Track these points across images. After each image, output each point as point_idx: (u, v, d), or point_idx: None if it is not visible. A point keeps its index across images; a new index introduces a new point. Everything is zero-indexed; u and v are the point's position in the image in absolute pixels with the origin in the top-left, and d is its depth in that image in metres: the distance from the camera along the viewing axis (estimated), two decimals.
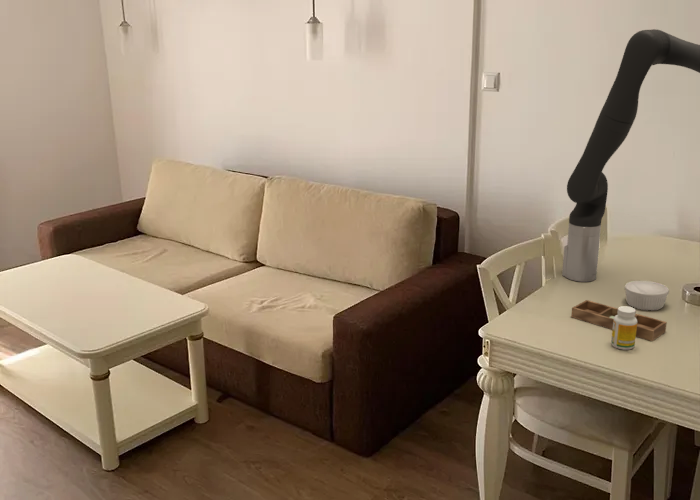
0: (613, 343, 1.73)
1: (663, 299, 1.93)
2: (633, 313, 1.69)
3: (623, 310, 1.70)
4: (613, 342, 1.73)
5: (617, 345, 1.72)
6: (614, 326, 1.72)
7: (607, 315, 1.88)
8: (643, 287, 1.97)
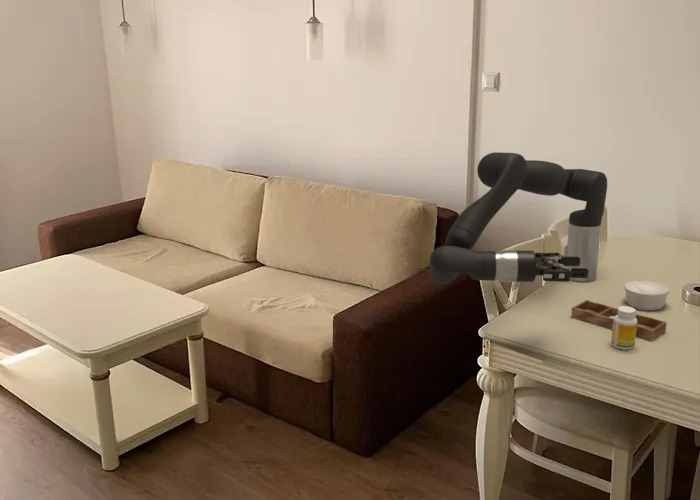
0: (613, 343, 1.73)
1: (663, 299, 1.93)
2: (633, 313, 1.69)
3: (623, 310, 1.70)
4: (613, 342, 1.73)
5: (617, 345, 1.72)
6: (614, 326, 1.72)
7: (607, 315, 1.88)
8: (643, 287, 1.97)
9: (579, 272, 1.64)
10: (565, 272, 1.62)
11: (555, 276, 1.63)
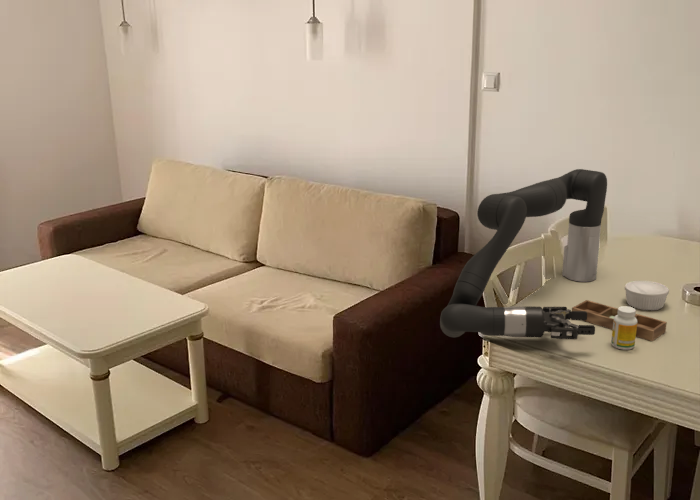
0: (613, 343, 1.73)
1: (663, 299, 1.93)
2: (633, 314, 1.69)
3: (623, 310, 1.70)
4: (613, 342, 1.73)
5: (617, 345, 1.72)
6: (614, 326, 1.72)
7: (607, 315, 1.88)
8: (643, 287, 1.97)
9: (586, 329, 1.68)
10: (572, 330, 1.67)
11: (563, 334, 1.67)
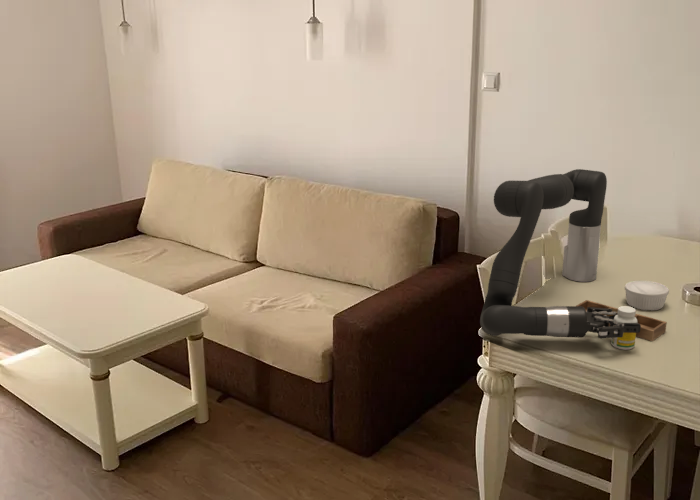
0: (613, 343, 1.73)
1: (663, 299, 1.93)
2: (633, 313, 1.69)
3: (623, 310, 1.70)
4: (613, 342, 1.73)
5: (617, 345, 1.72)
6: None
7: None
8: (643, 287, 1.97)
9: (632, 327, 1.68)
10: (618, 328, 1.67)
11: (610, 333, 1.66)
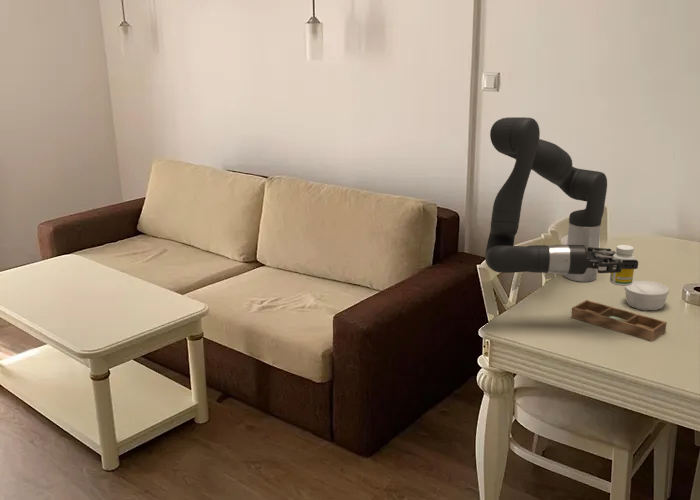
0: (612, 280, 1.81)
1: (663, 299, 1.93)
2: (631, 251, 1.78)
3: (622, 248, 1.79)
4: (612, 279, 1.81)
5: (615, 282, 1.80)
6: None
7: (607, 315, 1.88)
8: (643, 287, 1.97)
9: (630, 263, 1.76)
10: (617, 263, 1.75)
11: (609, 268, 1.75)
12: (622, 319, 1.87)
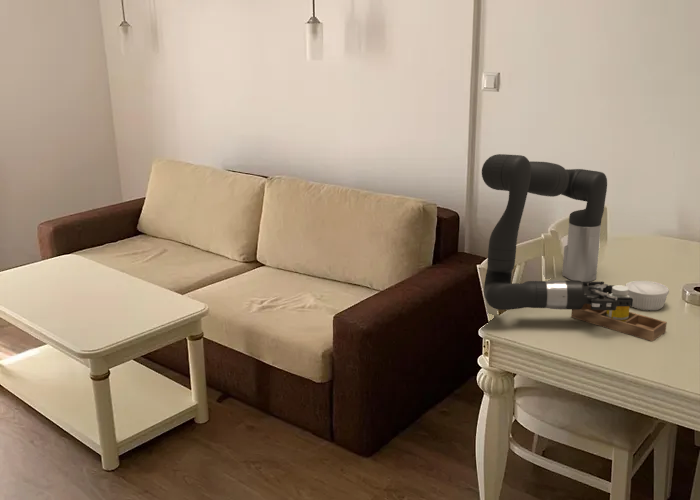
0: None
1: (663, 299, 1.93)
2: (626, 292, 1.81)
3: (617, 288, 1.82)
4: None
5: None
6: None
7: None
8: (643, 287, 1.97)
9: (624, 301, 1.78)
10: (612, 301, 1.77)
11: (603, 305, 1.77)
12: None
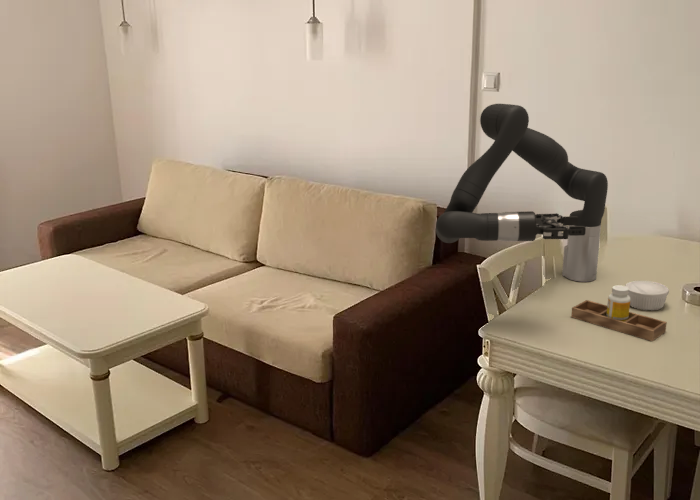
0: None
1: (663, 299, 1.93)
2: (626, 292, 1.81)
3: (617, 289, 1.82)
4: None
5: None
6: (609, 304, 1.84)
7: None
8: (643, 287, 1.97)
9: (577, 230, 1.74)
10: (563, 230, 1.72)
11: (554, 234, 1.73)
12: None
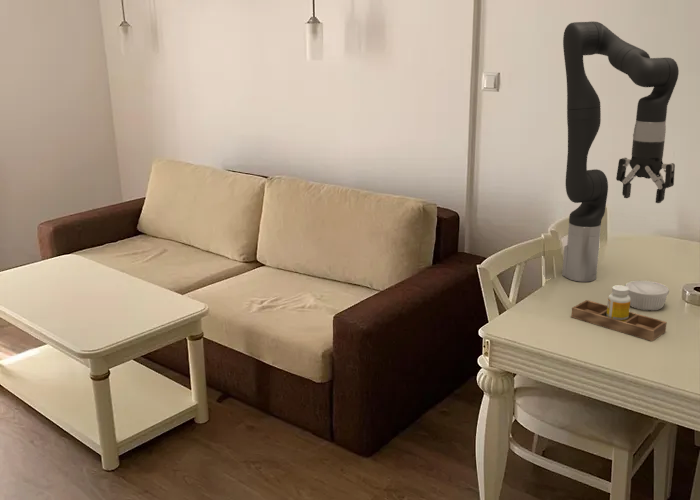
0: None
1: (663, 299, 1.93)
2: (626, 292, 1.81)
3: (617, 289, 1.82)
4: None
5: None
6: (609, 304, 1.84)
7: None
8: (643, 287, 1.97)
9: (664, 194, 1.84)
10: (673, 182, 1.82)
11: (672, 174, 1.81)
12: None
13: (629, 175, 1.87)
